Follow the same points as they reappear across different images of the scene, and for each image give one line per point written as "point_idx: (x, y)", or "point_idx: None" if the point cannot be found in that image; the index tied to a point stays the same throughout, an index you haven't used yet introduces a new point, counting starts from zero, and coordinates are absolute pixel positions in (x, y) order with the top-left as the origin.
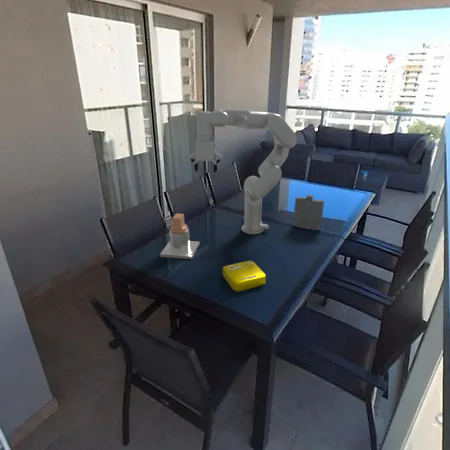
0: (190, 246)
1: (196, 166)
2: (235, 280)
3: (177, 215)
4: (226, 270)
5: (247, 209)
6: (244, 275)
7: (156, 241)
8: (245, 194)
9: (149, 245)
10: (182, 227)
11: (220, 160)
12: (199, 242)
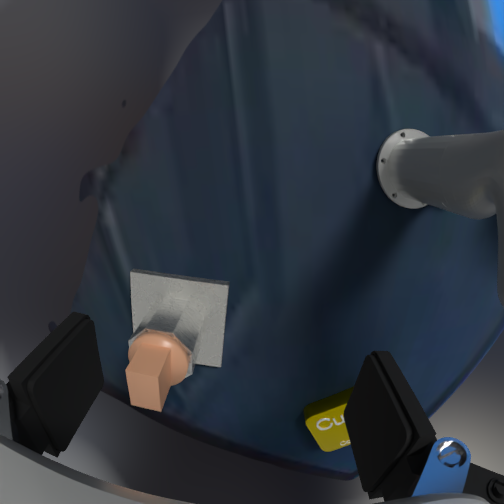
0: (204, 316)
1: (72, 434)
2: (326, 447)
3: (139, 388)
4: (312, 429)
5: (440, 202)
6: (346, 436)
7: (93, 264)
8: (476, 187)
9: (86, 288)
10: (170, 370)
11: (500, 488)
12: (228, 285)
